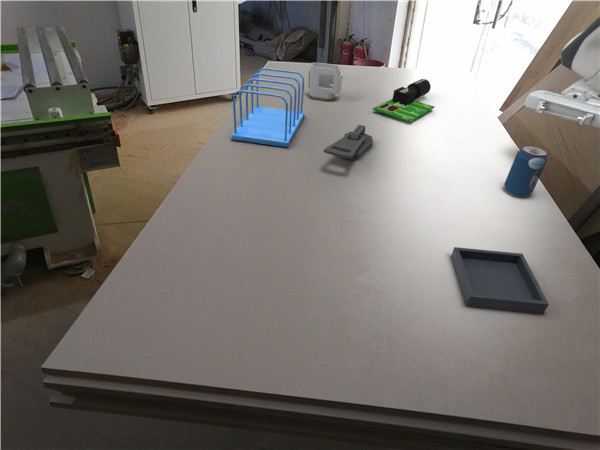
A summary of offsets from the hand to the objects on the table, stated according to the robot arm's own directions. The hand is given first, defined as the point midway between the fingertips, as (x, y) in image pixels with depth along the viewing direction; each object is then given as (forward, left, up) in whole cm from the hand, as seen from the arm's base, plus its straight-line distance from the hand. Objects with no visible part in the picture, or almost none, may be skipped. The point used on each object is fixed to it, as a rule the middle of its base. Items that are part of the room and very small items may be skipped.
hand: (559, 115), depth 102 cm
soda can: (+7, +10, -18) cm, 21 cm away
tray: (+23, +46, -17) cm, 54 cm away
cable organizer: (+60, -48, -18) cm, 79 cm away
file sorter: (+77, -17, -18) cm, 80 cm away
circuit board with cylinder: (+28, -45, -18) cm, 56 cm away
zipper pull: (+51, -2, -18) cm, 54 cm away
